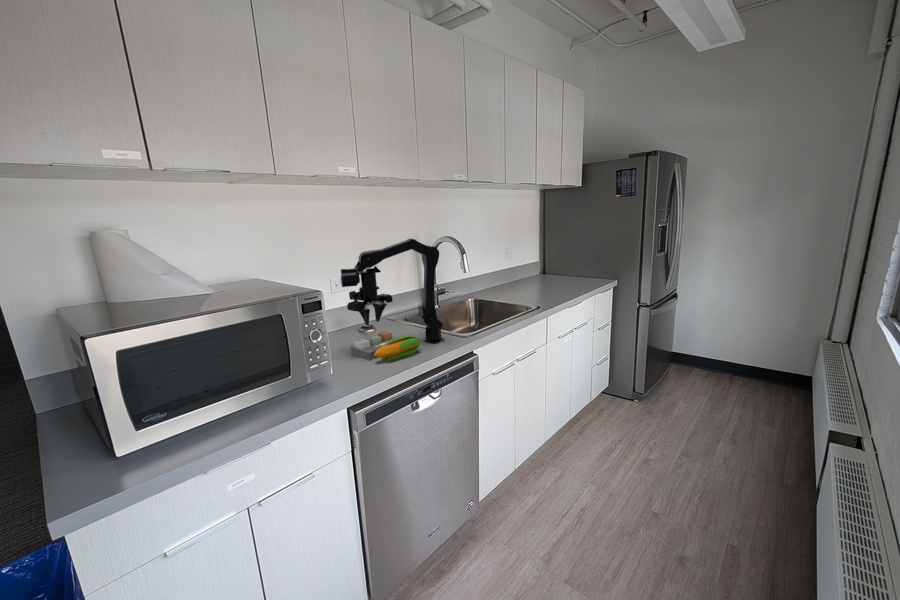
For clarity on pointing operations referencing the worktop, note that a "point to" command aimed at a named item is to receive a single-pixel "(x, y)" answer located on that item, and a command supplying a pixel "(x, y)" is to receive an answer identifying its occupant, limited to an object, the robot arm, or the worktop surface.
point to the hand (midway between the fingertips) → (372, 323)
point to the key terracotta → (385, 335)
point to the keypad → (369, 350)
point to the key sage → (374, 339)
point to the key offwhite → (362, 344)
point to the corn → (398, 348)
